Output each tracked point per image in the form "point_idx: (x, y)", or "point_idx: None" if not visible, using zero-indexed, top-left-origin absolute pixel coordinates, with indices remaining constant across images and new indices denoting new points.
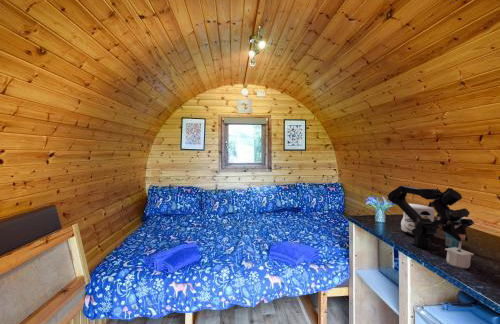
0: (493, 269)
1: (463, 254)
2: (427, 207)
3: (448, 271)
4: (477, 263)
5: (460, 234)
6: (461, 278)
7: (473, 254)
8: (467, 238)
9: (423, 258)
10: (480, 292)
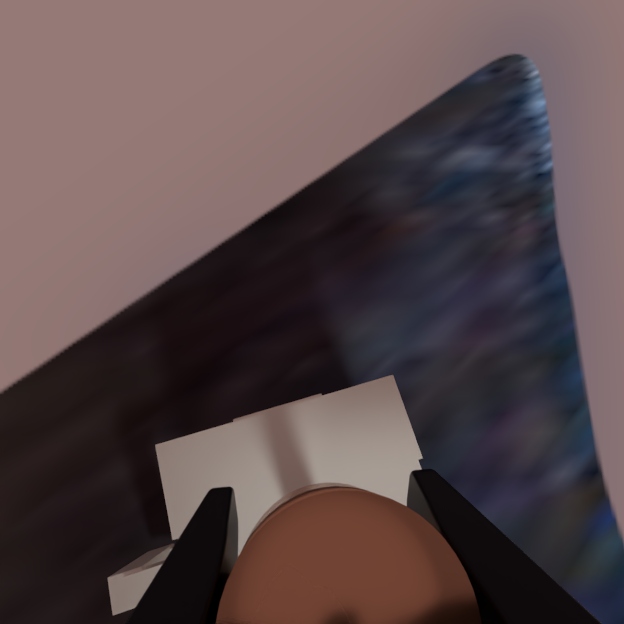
0: (3, 405)
1: (363, 405)
2: None
3: (538, 352)
4: (17, 546)
5: (420, 582)
6: (514, 249)
7: (164, 443)
8: (194, 518)
9: None
10: (528, 106)
